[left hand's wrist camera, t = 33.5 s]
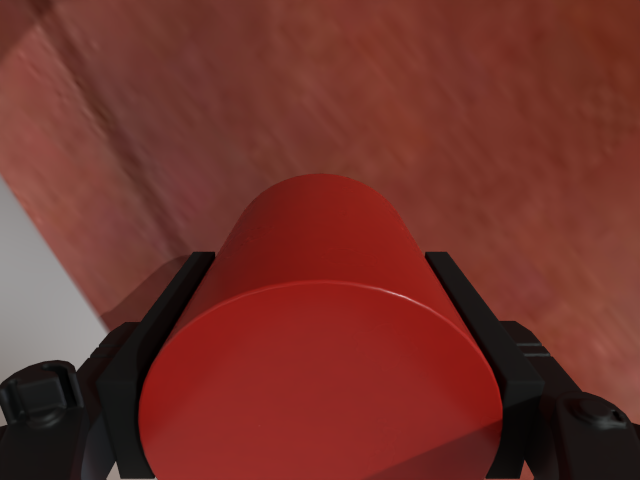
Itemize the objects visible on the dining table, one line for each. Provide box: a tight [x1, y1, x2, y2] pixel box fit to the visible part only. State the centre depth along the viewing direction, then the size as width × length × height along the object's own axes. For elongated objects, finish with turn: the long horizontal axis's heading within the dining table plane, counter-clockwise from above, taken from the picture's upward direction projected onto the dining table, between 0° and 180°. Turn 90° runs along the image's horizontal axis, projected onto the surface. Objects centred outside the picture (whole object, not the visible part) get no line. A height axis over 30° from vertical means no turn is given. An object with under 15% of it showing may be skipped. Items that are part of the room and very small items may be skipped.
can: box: [138, 174, 503, 480], centre depth 12 cm, size 7×7×9 cm
